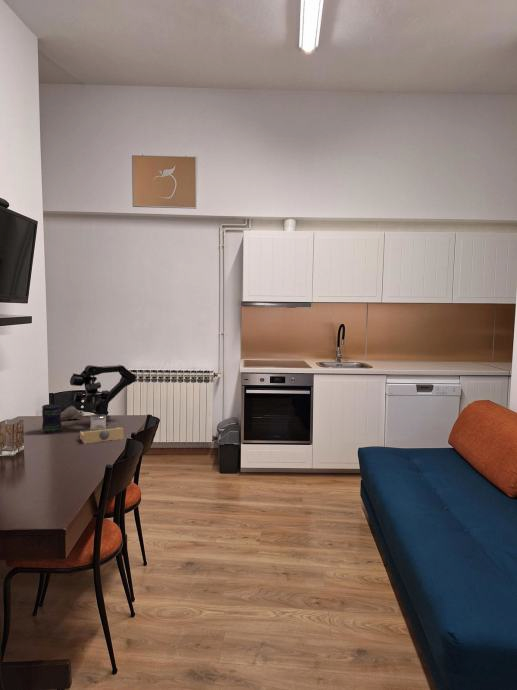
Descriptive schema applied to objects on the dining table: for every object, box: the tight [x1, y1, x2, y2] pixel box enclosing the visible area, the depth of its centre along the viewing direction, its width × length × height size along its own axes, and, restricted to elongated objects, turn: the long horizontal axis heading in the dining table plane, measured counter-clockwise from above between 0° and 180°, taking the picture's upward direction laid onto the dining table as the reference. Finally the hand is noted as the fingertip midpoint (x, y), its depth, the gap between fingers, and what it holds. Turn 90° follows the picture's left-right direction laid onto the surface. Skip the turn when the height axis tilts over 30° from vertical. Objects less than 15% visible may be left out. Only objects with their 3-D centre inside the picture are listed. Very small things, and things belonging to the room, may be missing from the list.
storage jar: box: [41, 403, 62, 435], centre depth 272 cm, size 10×10×15 cm
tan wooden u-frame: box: [79, 427, 125, 445], centre depth 260 cm, size 11×20×6 cm, turn 121°
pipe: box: [61, 405, 85, 422], centre depth 302 cm, size 16×9×15 cm
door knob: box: [87, 414, 107, 432], centre depth 267 cm, size 14×14×11 cm
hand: (94, 408), depth 273 cm, fingers closed
